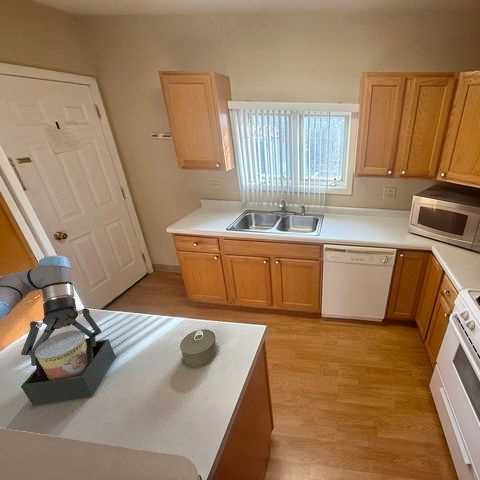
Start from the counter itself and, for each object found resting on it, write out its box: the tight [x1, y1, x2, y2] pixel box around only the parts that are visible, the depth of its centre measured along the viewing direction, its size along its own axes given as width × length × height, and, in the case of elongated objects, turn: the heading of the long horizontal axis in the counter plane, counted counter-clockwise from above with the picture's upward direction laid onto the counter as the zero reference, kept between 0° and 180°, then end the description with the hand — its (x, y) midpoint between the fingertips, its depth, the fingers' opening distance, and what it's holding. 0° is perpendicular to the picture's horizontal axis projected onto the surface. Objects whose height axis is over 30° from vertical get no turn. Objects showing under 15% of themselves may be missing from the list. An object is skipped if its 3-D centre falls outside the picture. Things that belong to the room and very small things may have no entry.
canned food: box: [34, 329, 94, 380], centre depth 82 cm, size 11×11×12 cm
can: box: [179, 328, 218, 368], centre depth 95 cm, size 12×12×7 cm
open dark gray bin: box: [20, 338, 117, 406], centre depth 84 cm, size 15×15×9 cm
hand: (67, 366), depth 80 cm, fingers closed on canned food, 11 cm apart
